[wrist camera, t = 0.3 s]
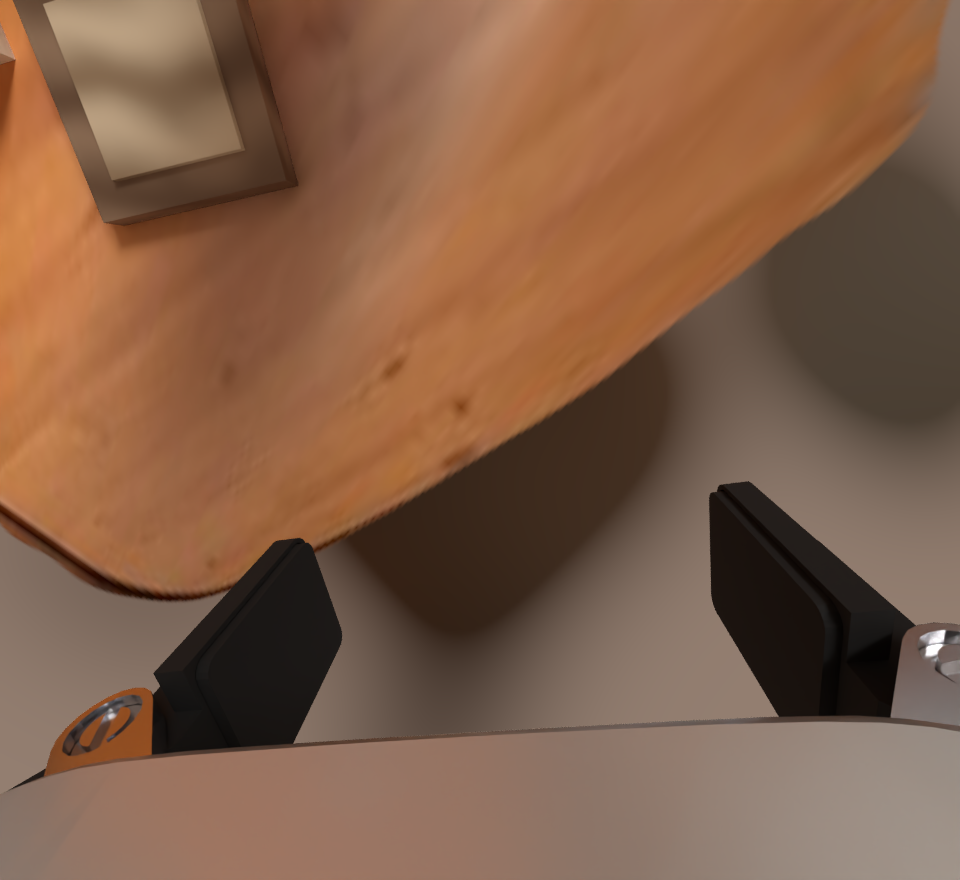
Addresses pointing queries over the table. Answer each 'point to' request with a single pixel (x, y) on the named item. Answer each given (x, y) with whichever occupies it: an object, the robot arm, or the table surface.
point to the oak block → (5, 48)
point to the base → (161, 101)
